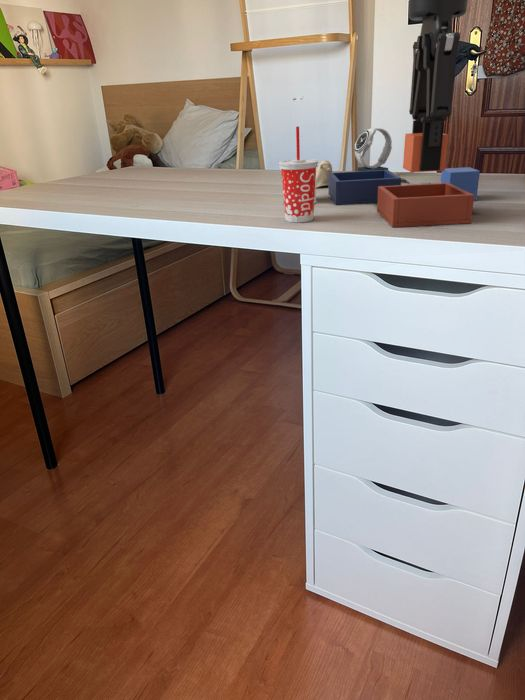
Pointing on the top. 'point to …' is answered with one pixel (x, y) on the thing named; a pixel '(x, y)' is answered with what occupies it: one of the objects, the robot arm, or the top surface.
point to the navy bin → (359, 185)
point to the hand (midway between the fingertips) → (424, 167)
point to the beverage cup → (298, 186)
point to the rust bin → (424, 204)
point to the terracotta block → (414, 152)
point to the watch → (364, 144)
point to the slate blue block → (462, 179)
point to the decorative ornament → (323, 173)
